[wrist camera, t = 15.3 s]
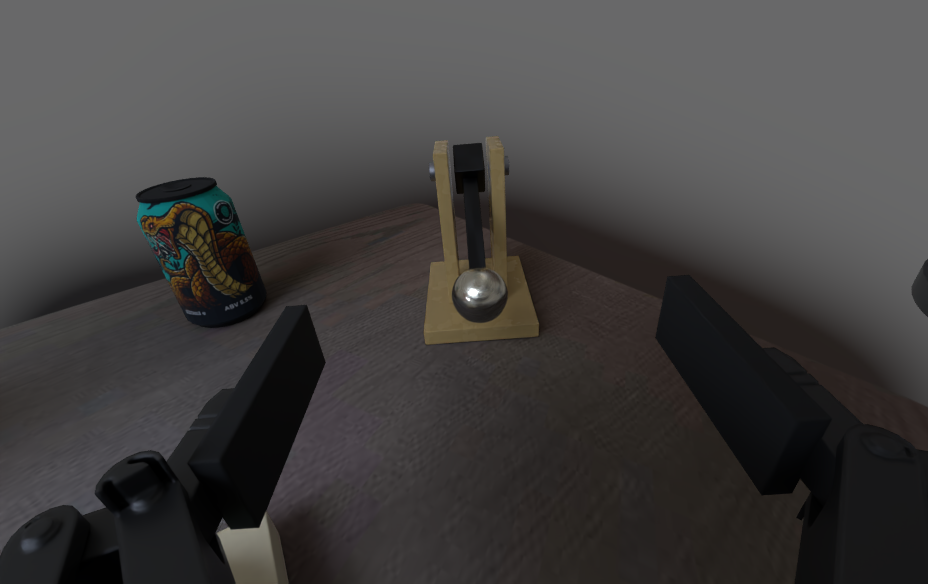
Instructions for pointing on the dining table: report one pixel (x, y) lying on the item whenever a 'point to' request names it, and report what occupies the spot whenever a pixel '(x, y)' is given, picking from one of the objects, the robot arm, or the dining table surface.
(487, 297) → the switch lever
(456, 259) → the switch bracket
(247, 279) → the beverage can
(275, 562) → the switch box
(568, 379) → the dining table surface
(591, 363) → the dining table surface
